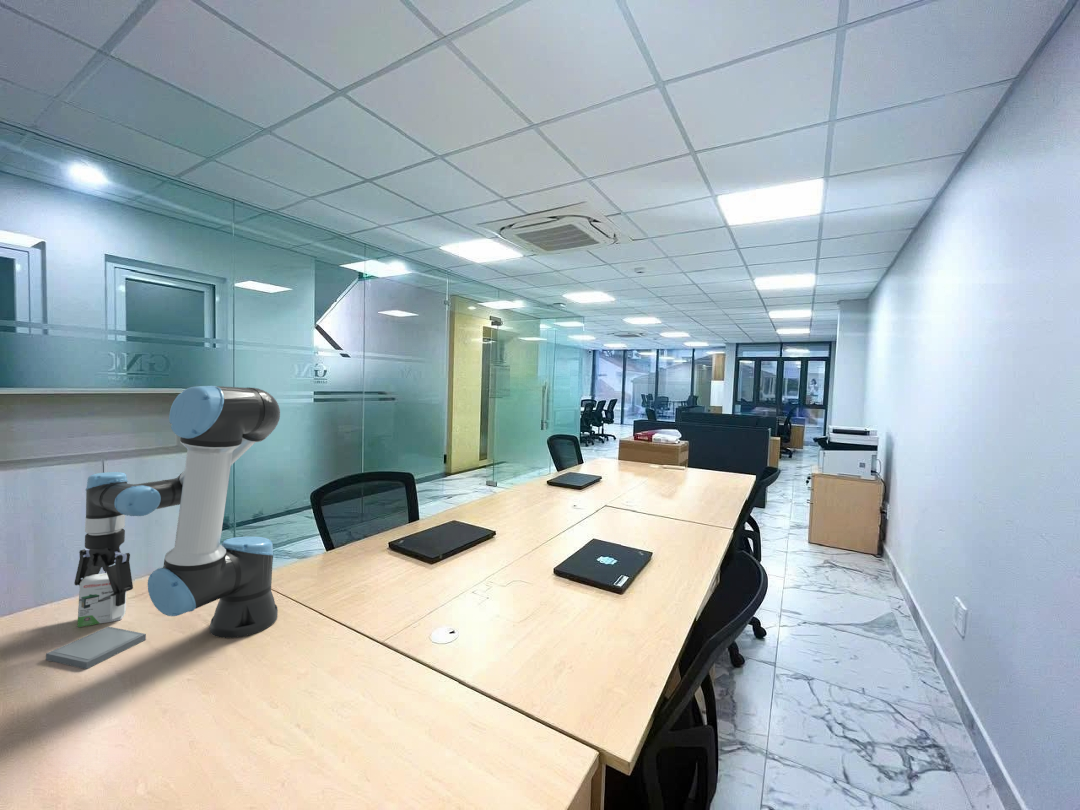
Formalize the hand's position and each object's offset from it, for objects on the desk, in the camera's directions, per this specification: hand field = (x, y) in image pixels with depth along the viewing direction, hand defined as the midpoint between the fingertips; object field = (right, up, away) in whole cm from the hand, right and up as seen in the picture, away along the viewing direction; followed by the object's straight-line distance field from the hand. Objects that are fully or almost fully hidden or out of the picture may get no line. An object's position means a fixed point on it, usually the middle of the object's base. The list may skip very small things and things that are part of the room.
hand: (102, 614), depth 115 cm
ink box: (0, -2, 0) cm, 2 cm away
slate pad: (+12, -2, -12) cm, 17 cm away
